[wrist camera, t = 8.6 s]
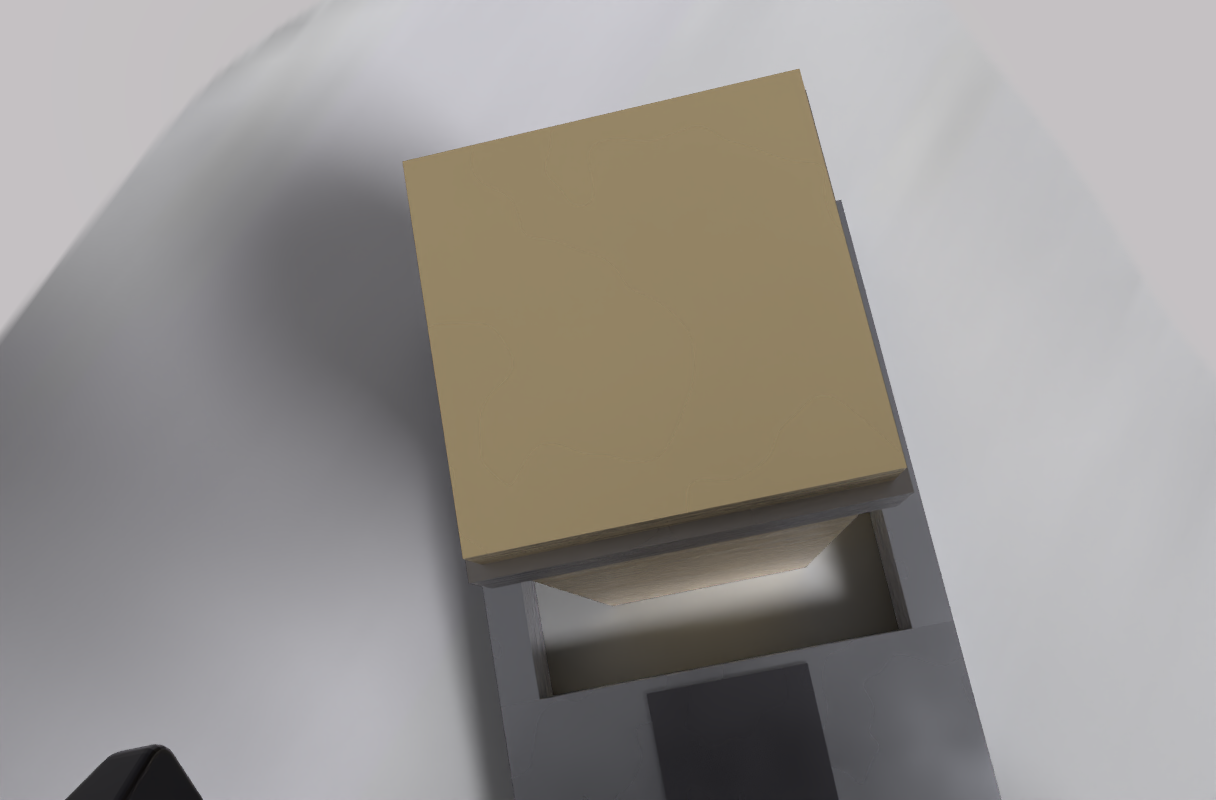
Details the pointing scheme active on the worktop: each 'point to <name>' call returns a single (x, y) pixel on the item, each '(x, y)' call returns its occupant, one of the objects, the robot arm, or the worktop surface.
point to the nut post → (651, 347)
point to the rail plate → (762, 701)
